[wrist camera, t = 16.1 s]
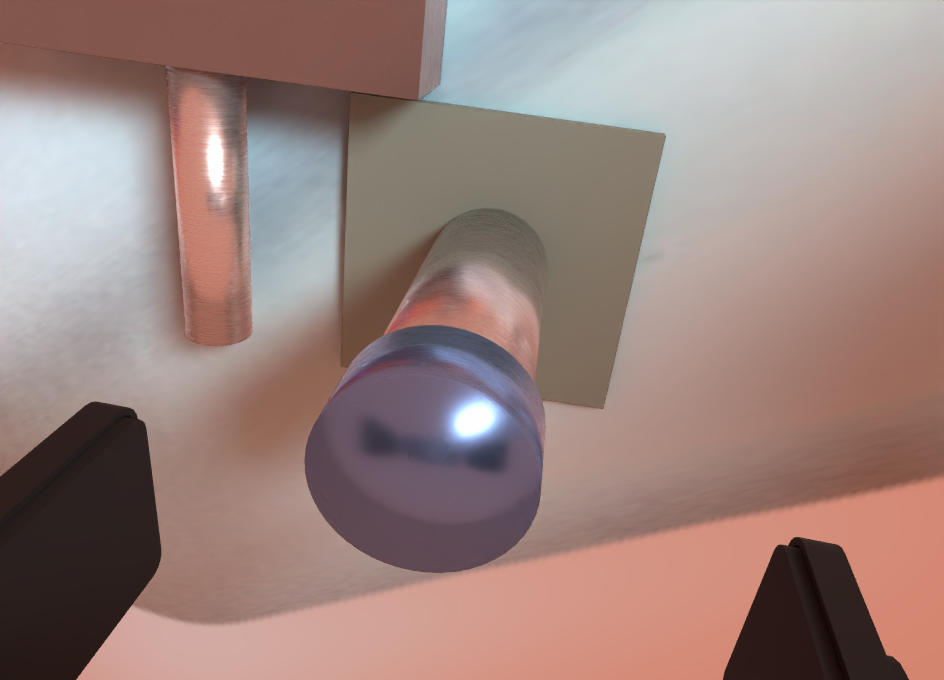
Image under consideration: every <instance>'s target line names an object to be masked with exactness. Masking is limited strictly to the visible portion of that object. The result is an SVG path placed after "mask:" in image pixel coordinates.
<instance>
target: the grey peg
mask: <svg viewBox="0 0 944 680" xmlns="http://www.w3.org/2000/svg"><path fill="white" fill-rule="evenodd" d="M546 271H547V258H546V253H545V249H544V246H543V244H542V242H541V240H540V238H539V236H538V235H537V233H536V232H535V231H534V229H533V228H532V227H531V226H530V225H529V224H528V223H526V222H525V221H524V220H523V219H521V218H520V217H518V216H516V215H514V214H512V213H510V212H507V211H504V210H500V209H493V208H480V209H474V210H471V211H467V212H465V213H463V214H460V215H458V216H457V217H455V218H454V219H452V220H451V221H450V222H449V223H448V224H447V225H446V226H445V227H444V228H443V229H442V230H441V232H440V234H439V235H438V237H437V239H436V240H435V242H434V244H433V246H432V248H431V249H430V251H429V253H428V255H427V257H426V259H425V260H424V262H423V264H422V266H421V268H420V269H419V271H418V273H417V275H416V277H415V279H414V280H413V282H412V284H411V286H410V288H409V289H408V291H407V293H406V295H405V297H404V299H403V300H402V302H401V304H400V306H399V308H398V309H397V311H396V313H395V315H394V317H393V319H392V320H391V322H390V324H389V326H388V328H387V330H386V331H385V333H384V335H383V336H382V337H380V338H378V339H377V340H375V341H373V342H372V343H370V344H369V345H368V346H367V347H366V348H364V349H363V350H362V351H361V352H360V353H359V354H358V355H357V356H356V357H355V359H354V360H353V361H352V363H351V364H350V366H349V367H348V369H347V370H346V372H345V374H344V375H343V377H342V379H341V380H340V382H339V384H338V386H337V387H336V389H335V391H334V392H333V394H332V396H331V397H330V399H329V401H328V402H327V404H326V406H325V407H324V409H323V411H322V412H321V414H320V416H319V417H318V419H317V421H316V422H315V424H314V426H313V428H312V431H311V433H310V435H309V438H308V442H307V446H306V451H305V474H306V479H307V483H308V487H309V490H310V492H311V495H312V498H313V500H314V502H315V504H316V505H317V507H318V509H319V511H320V512H321V514H322V515H323V517H324V518H325V519H326V521H327V522H328V523H329V524H330V525H331V526H332V528H333V529H334V530H335V531H336V532H337V533H338V534H339V535H340V536H342V537H343V538H344V539H345V540H346V541H347V542H349V543H350V544H352V545H353V546H354V547H356V548H357V549H359V550H360V551H362V552H364V553H366V554H367V555H369V556H371V557H373V558H375V559H377V560H380V561H382V562H384V563H387V564H390V565H393V566H396V567H400V568H404V569H408V570H413V571H421V572H434V573H443V572H456V571H461V570H467V569H471V568H474V567H477V566H481V565H483V564H486V563H488V562H490V561H492V560H494V559H496V558H498V557H499V556H501V555H503V554H504V553H506V552H507V551H508V550H510V549H511V548H512V547H513V546H515V545H516V544H517V543H518V541H519V540H520V539H521V538H522V537H523V536H524V535H525V533H526V532H527V530H528V529H529V527H530V526H531V524H532V522H533V520H534V518H535V516H536V513H537V509H538V506H539V502H540V494H541V482H542V468H543V454H544V440H545V412H544V407H543V402H542V399H541V397H540V394H539V391H538V389H537V387H536V385H535V375H536V366H537V356H538V347H539V338H540V328H541V319H542V309H543V300H544V290H545V281H546Z"/></svg>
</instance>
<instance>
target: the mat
mask: <svg viewBox="0 0 944 680" xmlns="http://www.w3.org/2000/svg"><path fill="white" fill-rule="evenodd" d="M665 137H666V136H665V134H663V133H656V132H649V131H641V130H634V129H627V128H620V127H612V126H605V125H598V124H591V123H584V122H576V121H569V120H562V119H555V118H547V117H540V116H533V115H526V114H519V113H511V112H504V111H497V110H490V109H482V108H475V107H468V106H461V105H453V104H446V103H439V102H432V101H425V100H412V99H405V98H397V97H390V96H383V95H376V94H368V93H361V92H354V91H352V92H350V112H349V141H348V170H347V199H346V228H345V256H344V285H343V314H342V343H341V366H343V367H349V366H350V364H351V363H352V361H353V360H354V359H355V357H356V356H357V355H358V354H359V353H360V352H361V351H362V350H363V349H364V348H366V347H367V346H368V345H369V344H370V343H372V342H373V341H375V340H377V339H378V338H380V337H382V336H383V335H384V333H385V331H386V330H387V328H388V326H389V324H390V322H391V320H392V319H393V317H394V315H395V313H396V311H397V309H398V308H399V306H400V304H401V302H402V300H403V299H404V297H405V295H406V293H407V291H408V289H409V288H410V286H411V284H412V282H413V280H414V279H415V277H416V275H417V273H418V271H419V269H420V268H421V266H422V264H423V262H424V260H425V259H426V257H427V255H428V253H429V251H430V249H431V248H432V246H433V244H434V242H435V240H436V239H437V237H438V235H439V234H440V232H441V230H442V229H443V228H444V227H445V226H446V225H447V224H448V223H449V222H450V221H451V220H452V219H454V218H455V217H457V216H458V215H460V214H463V213H465V212H467V211H471V210H474V209H480V208H493V209H500V210H504V211H507V212H510V213H512V214H514V215H516V216H518V217H520V218H521V219H523V220H524V221H525V222H526V223H528V224H529V225H530V226H531V227H532V228H533V229H534V231H535V232H536V233H537V235H538V236H539V238H540V240H541V242H542V244H543V246H544V249H545V253H546V258H547V271H546V281H545V290H544V300H543V309H542V319H541V328H540V338H539V347H538V356H537V366H536V375H535V385H536V387H537V389H538V391H539V394H540V397H541V399H544V400H550V401H557V402H563V403H569V404H575V405H581V406H587V407H593V408H599V409H603V408H604V404H605V399H606V395H607V390H608V386H609V382H610V377H611V373H612V369H613V364H614V360H615V356H616V351H617V347H618V342H619V338H620V334H621V329H622V325H623V321H624V316H625V312H626V308H627V303H628V299H629V294H630V290H631V286H632V281H633V277H634V273H635V268H636V264H637V260H638V255H639V251H640V246H641V242H642V238H643V233H644V229H645V225H646V220H647V216H648V212H649V207H650V203H651V198H652V194H653V190H654V185H655V181H656V177H657V172H658V168H659V164H660V159H661V155H662V150H663V146H664V142H665Z"/></svg>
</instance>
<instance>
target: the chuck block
mask: <svg viewBox="0 0 944 680" xmlns="http://www.w3.org/2000/svg"><path fill="white" fill-rule="evenodd" d="M446 11H447V0H0V43H7V44H15V45H22V46H29V47H36V48H43V49H51V50H58V51H65V52H72V53H80V54H87V55H94V56H101V57H108V58H116V59H123V60H130V61H137V62H145V63H152V64H159V65H166V74H167V88H168V101H169V114H170V128H171V141H172V155H173V168H174V182H175V195H176V209H177V222H178V236H179V249H180V262H181V276H182V289H183V303H184V316H185V330H186V336H187V337H188V338H189V339H190V340H192V341H193V342H196V343H199V344H203V345H209V346H224V345H231V344H236V343H239V342H241V341H244V340H246V339H247V338H249V337H250V336H251V334H252V332H253V323H252V287H251V250H250V214H249V178H248V141H247V105H246V77H253V78H260V79H267V80H275V81H282V82H289V83H296V84H303V85H311V86H318V87H325V88H332V89H340V90H347V91H354V92H361V93H368V94H376V95H383V96H390V97H397V98H405V99H412V100H420V99H421V98H422V97H424V96H425V95H426V94H428V93H429V92H430V91H432V90H433V89H434V88H436V87H437V86H438V85H440V79H441V67H442V56H443V45H444V33H445V22H446Z"/></svg>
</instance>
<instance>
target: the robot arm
mask: <svg viewBox="0 0 944 680" xmlns="http://www.w3.org/2000/svg"><path fill="white" fill-rule="evenodd" d="M160 559H161V543H160V535H159V527H158V519H157V511H156V503H155V495H154V486H153V478H152V470H151V462H150V454H149V446H148V438H147V430H146V425H145V423H144V422H143V421H141V420H138V418H137V414H136V413H135V411H134V410H133V409H131V408H127V407H122V406H117V405H112V404H107V403H101V402H91V403H89V404H87V405H86V406H84V407H83V408H82V409H81V410H80V411H78V412H77V413H76V414H75V415H74V416H72V417H71V418H70V419H69V420H68V421H66V422H65V423H64V424H63V425H62V426H60V427H59V428H58V429H57V430H56V431H54V432H53V433H52V434H51V435H50V436H49V437H47V438H46V439H45V440H44V441H43V442H41V443H40V444H39V445H38V446H37V447H35V448H34V449H33V450H32V451H31V452H29V453H28V454H27V455H26V456H25V457H23V458H22V459H21V460H20V461H19V462H17V463H16V464H15V465H14V466H13V467H11V468H10V469H9V470H8V471H7V472H5V473H4V474H3V475H2V476H1V477H0V680H76V679H77V678H78V676H79V675H80V674H81V672H82V671H83V670H84V668H85V667H86V666H87V664H88V663H89V662H90V660H91V659H92V657H93V656H94V655H95V653H96V652H97V651H98V650H99V648H100V647H101V646H102V644H103V643H104V641H105V640H106V639H107V637H108V636H109V635H110V634H111V632H112V631H113V630H114V628H115V627H116V626H117V624H118V623H119V621H120V620H121V619H122V618H123V616H124V615H125V613H126V612H127V610H128V609H129V608H130V607H131V605H132V604H133V603H134V601H135V600H136V599H137V597H138V596H139V595H140V593H141V592H142V591H143V589H144V588H145V587H146V585H147V584H148V583H149V581H150V580H151V579H152V577H153V576H154V574H155V573H156V571H157V569H158V566H159V563H160ZM723 680H909V679H908V677H907V675H906V673H905V671H904V670H903V668H902V666H901V664H900V663H899V662H898V661H897V660H896V659H895V658H894V657H891V656H887V655H886V653H885V651H884V648H883V646H882V643H881V641H880V638H879V636H878V633H877V631H876V628H875V626H874V623H873V621H872V619H871V616H870V614H869V611H868V609H867V606H866V604H865V602H864V599H863V596H862V594H861V592H860V589H859V587H858V584H857V582H856V579H855V577H854V574H853V572H852V570H851V567H850V565H849V562H848V560H847V557H846V555H845V553H844V551H843V549H842V548H841V547H840V546H839V545H836V544H831V543H826V542H821V541H815V540H810V539H805V538H800V537H795V538H793V539H792V540H791V541H790V543H789V545H788V546H786V545H778V546H777V547H776V548H775V550H774V552H773V555H772V557H771V559H770V562H769V564H768V567H767V569H766V572H765V574H764V577H763V579H762V581H761V584H760V586H759V589H758V591H757V594H756V596H755V599H754V601H753V603H752V606H751V608H750V611H749V613H748V616H747V618H746V621H745V623H744V626H743V628H742V630H741V633H740V635H739V638H738V640H737V642H736V645H735V648H734V650H733V652H732V655H731V657H730V660H729V662H728V665H727V667H726V670H725V673H724V677H723Z"/></svg>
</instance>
